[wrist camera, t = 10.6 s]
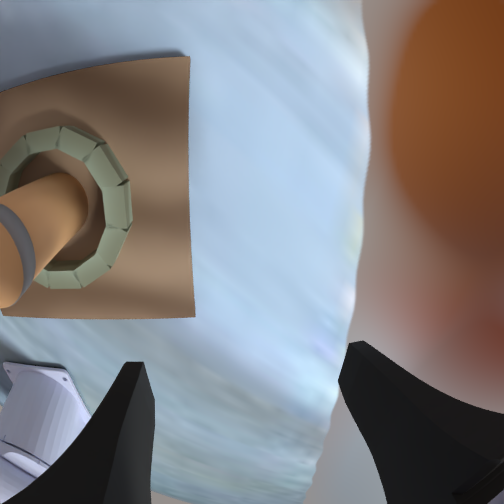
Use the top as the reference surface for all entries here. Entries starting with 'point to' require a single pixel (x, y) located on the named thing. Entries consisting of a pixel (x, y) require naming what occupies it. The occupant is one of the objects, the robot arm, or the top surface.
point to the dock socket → (109, 187)
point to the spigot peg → (36, 229)
